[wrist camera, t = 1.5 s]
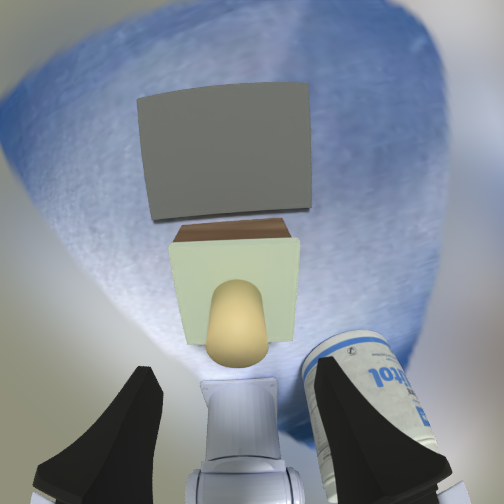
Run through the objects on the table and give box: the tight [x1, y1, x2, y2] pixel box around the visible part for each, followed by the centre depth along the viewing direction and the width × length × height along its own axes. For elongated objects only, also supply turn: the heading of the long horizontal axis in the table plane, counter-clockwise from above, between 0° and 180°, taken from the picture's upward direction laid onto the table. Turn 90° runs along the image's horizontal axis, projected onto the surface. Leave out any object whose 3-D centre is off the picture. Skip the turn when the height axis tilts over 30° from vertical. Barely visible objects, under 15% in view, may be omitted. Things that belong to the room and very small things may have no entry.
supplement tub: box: [302, 330, 440, 503], centre depth 19 cm, size 10×10×15 cm
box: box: [173, 218, 292, 242], centre depth 19 cm, size 7×7×4 cm
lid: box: [168, 237, 300, 368], centre depth 15 cm, size 7×7×6 cm
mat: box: [137, 82, 312, 220], centre depth 16 cm, size 8×11×1 cm
